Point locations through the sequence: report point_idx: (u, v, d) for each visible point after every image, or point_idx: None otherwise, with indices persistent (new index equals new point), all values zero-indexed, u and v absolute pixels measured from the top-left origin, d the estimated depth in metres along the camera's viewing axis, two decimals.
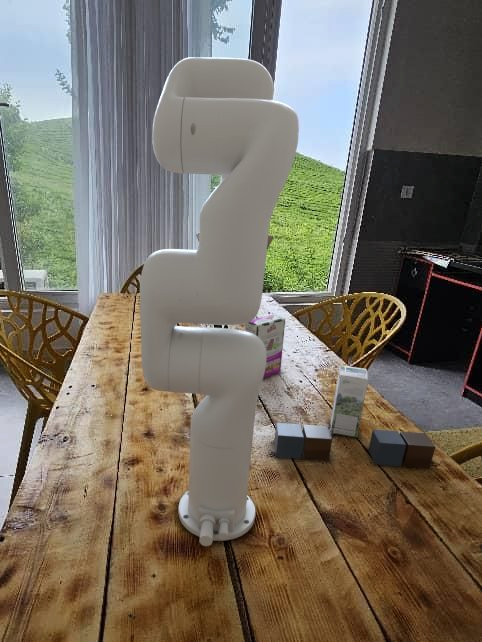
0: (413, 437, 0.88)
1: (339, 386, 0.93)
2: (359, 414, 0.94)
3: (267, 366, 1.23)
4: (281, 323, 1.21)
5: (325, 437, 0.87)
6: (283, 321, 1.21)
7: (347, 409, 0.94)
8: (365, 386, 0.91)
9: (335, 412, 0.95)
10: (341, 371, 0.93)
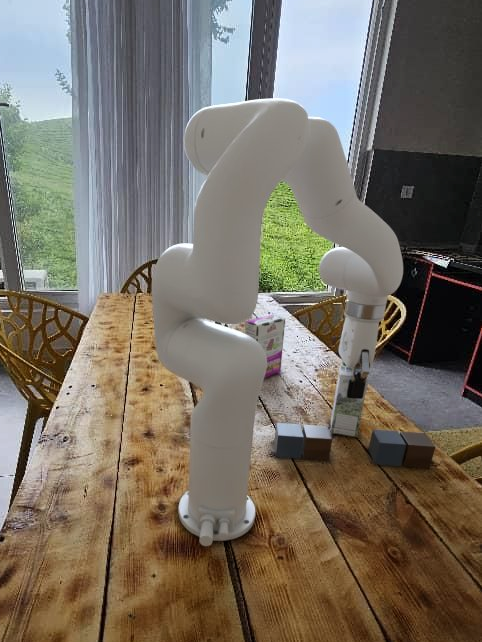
0: (413, 437, 0.88)
1: (339, 386, 0.93)
2: (359, 414, 0.94)
3: (267, 366, 1.23)
4: (281, 323, 1.21)
5: (325, 437, 0.87)
6: (283, 321, 1.21)
7: (347, 409, 0.94)
8: (365, 386, 0.91)
9: (335, 412, 0.95)
10: (341, 371, 0.93)
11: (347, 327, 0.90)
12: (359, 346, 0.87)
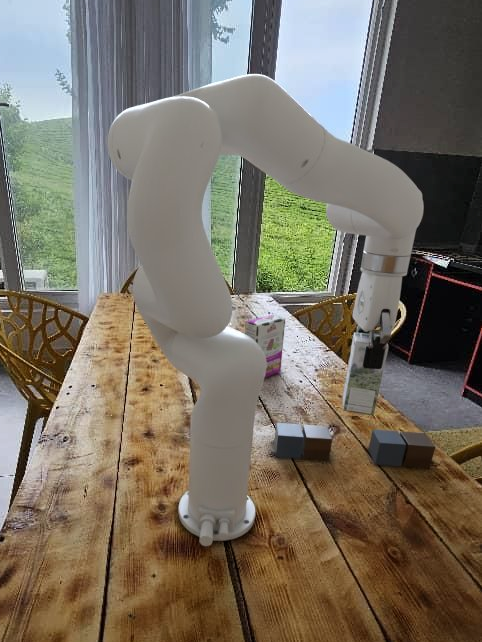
0: (413, 437, 0.88)
1: (354, 354, 0.80)
2: (377, 387, 0.81)
3: (267, 366, 1.23)
4: (281, 323, 1.21)
5: (325, 437, 0.87)
6: (283, 321, 1.21)
7: (363, 381, 0.81)
8: (385, 354, 0.78)
9: (349, 385, 0.82)
10: (356, 337, 0.81)
11: (364, 285, 0.77)
12: (379, 305, 0.74)
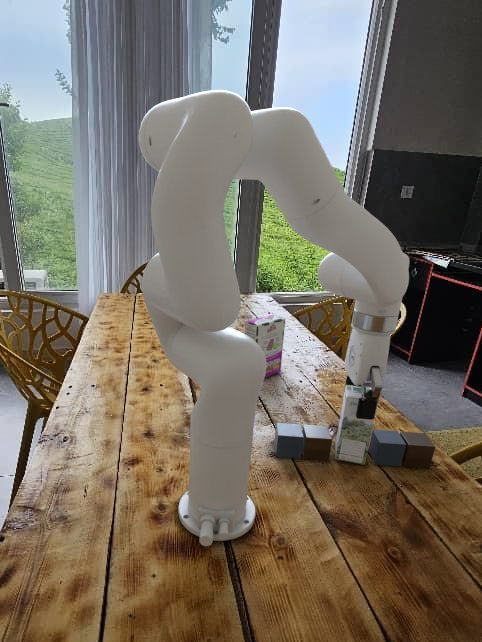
0: (413, 437, 0.88)
1: (345, 409, 0.84)
2: (368, 439, 0.85)
3: (267, 366, 1.23)
4: (281, 323, 1.21)
5: (325, 437, 0.87)
6: (283, 321, 1.21)
7: (354, 434, 0.85)
8: None
9: (341, 437, 0.86)
10: (347, 392, 0.84)
11: (354, 340, 0.81)
12: (368, 362, 0.77)
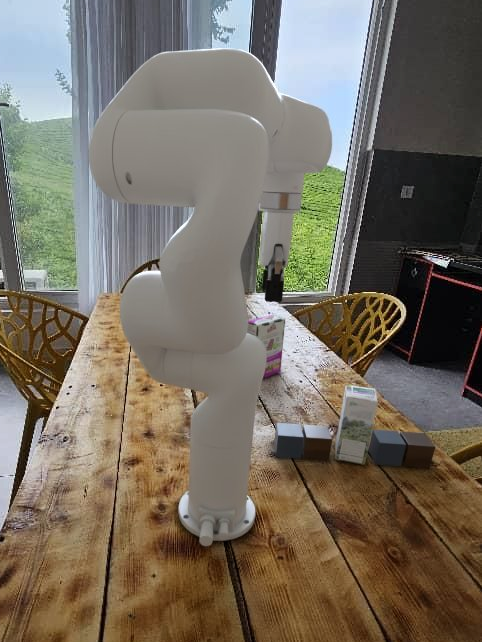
0: (413, 437, 0.88)
1: (345, 408, 0.84)
2: (368, 439, 0.85)
3: (267, 366, 1.23)
4: (281, 323, 1.21)
5: (325, 437, 0.87)
6: (283, 321, 1.21)
7: (354, 434, 0.85)
8: (374, 409, 0.82)
9: (341, 437, 0.86)
10: (347, 392, 0.84)
11: None
12: (271, 240, 0.79)
